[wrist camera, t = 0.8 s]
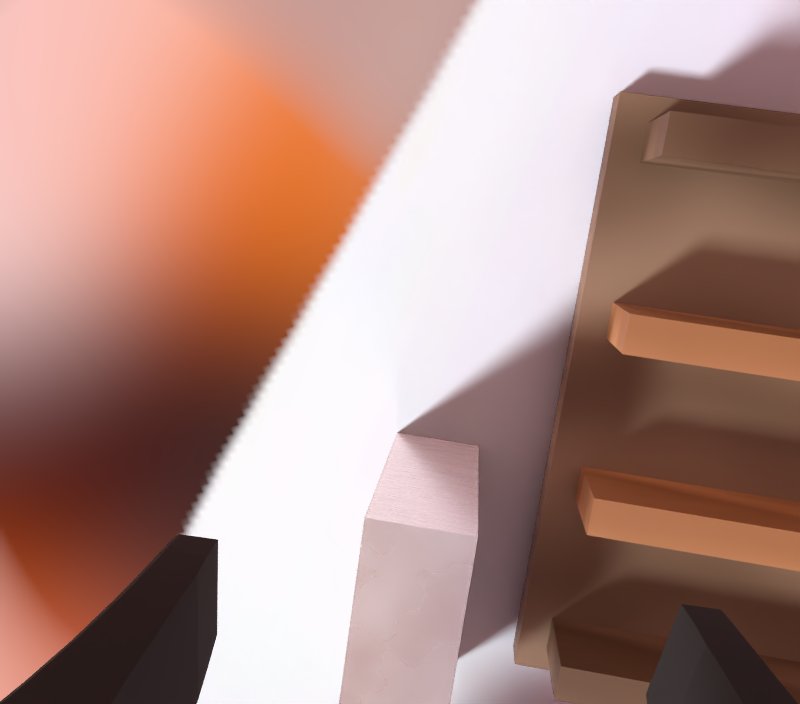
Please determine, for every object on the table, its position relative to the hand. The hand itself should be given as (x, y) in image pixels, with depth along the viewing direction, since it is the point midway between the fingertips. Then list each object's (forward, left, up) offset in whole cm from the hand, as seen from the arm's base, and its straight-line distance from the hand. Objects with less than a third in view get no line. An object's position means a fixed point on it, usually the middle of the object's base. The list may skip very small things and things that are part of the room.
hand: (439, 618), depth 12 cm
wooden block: (-6, +1, -16) cm, 17 cm away
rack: (+1, -10, -16) cm, 19 cm away
